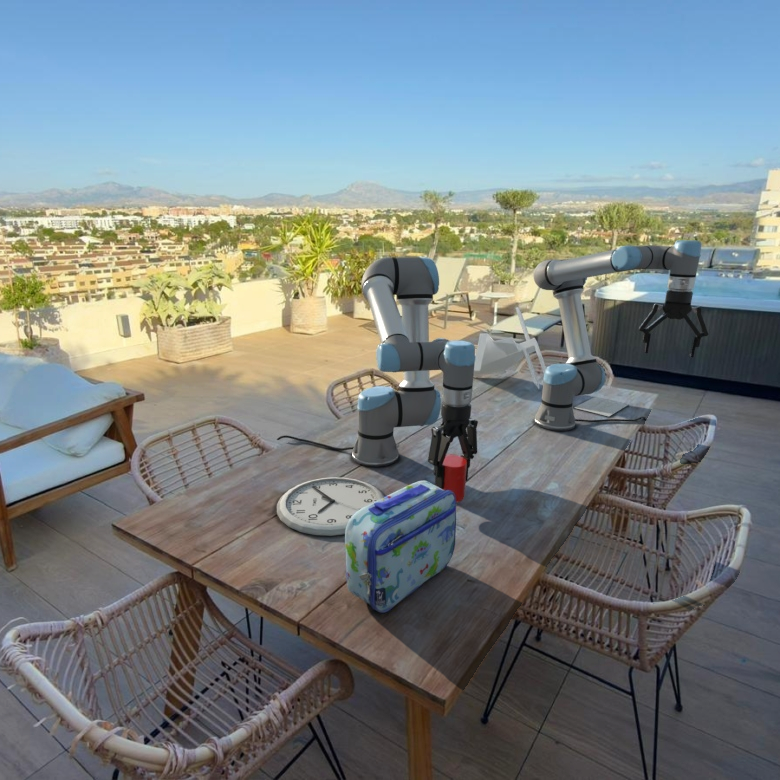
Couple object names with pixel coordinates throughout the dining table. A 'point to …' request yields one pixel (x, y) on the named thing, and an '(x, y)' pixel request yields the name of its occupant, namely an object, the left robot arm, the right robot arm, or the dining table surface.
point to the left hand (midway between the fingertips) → (451, 482)
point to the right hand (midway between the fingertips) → (668, 354)
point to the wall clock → (325, 504)
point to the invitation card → (601, 406)
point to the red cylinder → (455, 475)
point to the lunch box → (399, 543)
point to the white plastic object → (505, 353)
